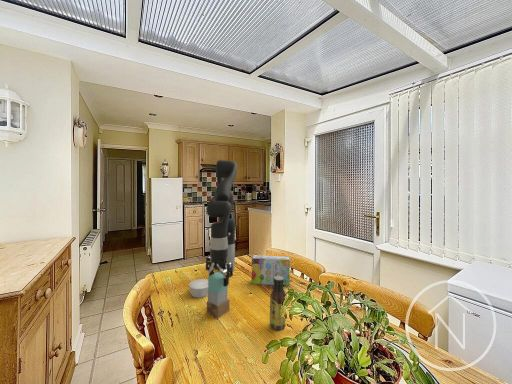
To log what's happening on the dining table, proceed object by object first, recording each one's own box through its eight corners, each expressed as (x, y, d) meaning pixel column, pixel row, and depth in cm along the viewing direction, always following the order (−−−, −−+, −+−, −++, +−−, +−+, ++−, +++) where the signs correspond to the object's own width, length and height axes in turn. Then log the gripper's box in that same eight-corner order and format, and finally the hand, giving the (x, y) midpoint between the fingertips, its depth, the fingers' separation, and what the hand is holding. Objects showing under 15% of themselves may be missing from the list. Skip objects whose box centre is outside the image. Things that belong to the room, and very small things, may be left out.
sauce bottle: (268, 321, 94) (269, 274, 93) (283, 320, 95) (284, 273, 94) (271, 331, 88) (272, 280, 87) (287, 331, 88) (288, 280, 88)
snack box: (288, 282, 132) (289, 256, 131) (289, 286, 126) (290, 259, 126) (252, 280, 134) (252, 254, 133) (251, 284, 128) (251, 257, 128)
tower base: (206, 312, 100) (206, 301, 100) (218, 305, 106) (218, 295, 106) (218, 318, 96) (218, 306, 96) (229, 310, 102) (229, 299, 102)
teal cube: (208, 290, 100) (208, 276, 100) (217, 284, 105) (217, 272, 105) (218, 294, 97) (218, 280, 96) (227, 288, 102) (227, 275, 101)
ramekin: (206, 300, 110) (206, 289, 110) (184, 297, 113) (184, 287, 112) (214, 289, 121) (214, 279, 121) (195, 287, 124) (195, 277, 123)
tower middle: (207, 301, 100) (207, 290, 100) (217, 295, 105) (217, 285, 105) (217, 305, 97) (217, 294, 96) (227, 300, 101) (227, 289, 101)
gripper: (201, 245, 101) (201, 281, 102) (225, 252, 93) (224, 291, 93) (213, 242, 107) (213, 276, 108) (237, 247, 99) (236, 284, 99)
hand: (218, 283), depth 100 cm, fingers open, 8 cm apart
